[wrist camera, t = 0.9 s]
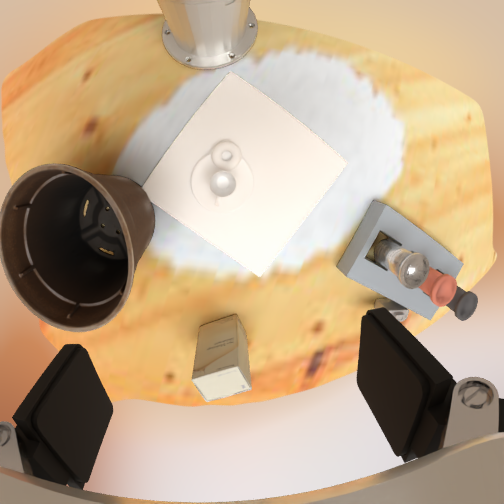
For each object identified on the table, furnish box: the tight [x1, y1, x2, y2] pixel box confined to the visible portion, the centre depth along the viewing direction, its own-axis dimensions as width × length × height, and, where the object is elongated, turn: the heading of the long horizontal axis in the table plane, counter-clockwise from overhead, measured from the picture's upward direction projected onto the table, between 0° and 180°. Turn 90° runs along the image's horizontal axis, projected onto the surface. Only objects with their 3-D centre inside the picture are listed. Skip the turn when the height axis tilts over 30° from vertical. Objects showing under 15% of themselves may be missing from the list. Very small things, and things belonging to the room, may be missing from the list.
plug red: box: [418, 267, 457, 307], centre depth 35 cm, size 4×4×8 cm
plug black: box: [446, 286, 478, 321], centre depth 37 cm, size 4×4×8 cm
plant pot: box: [0, 164, 155, 332], centre depth 30 cm, size 16×16×16 cm
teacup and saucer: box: [190, 140, 255, 214], centre depth 35 cm, size 9×8×4 cm
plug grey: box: [374, 239, 430, 289], centre depth 34 cm, size 4×4×8 cm
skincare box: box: [192, 314, 252, 402], centre depth 38 cm, size 6×4×12 cm
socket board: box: [336, 200, 463, 320], centre depth 41 cm, size 11×20×4 cm, turn 63°
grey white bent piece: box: [374, 299, 409, 321], centre depth 41 cm, size 7×2×8 cm, turn 85°
